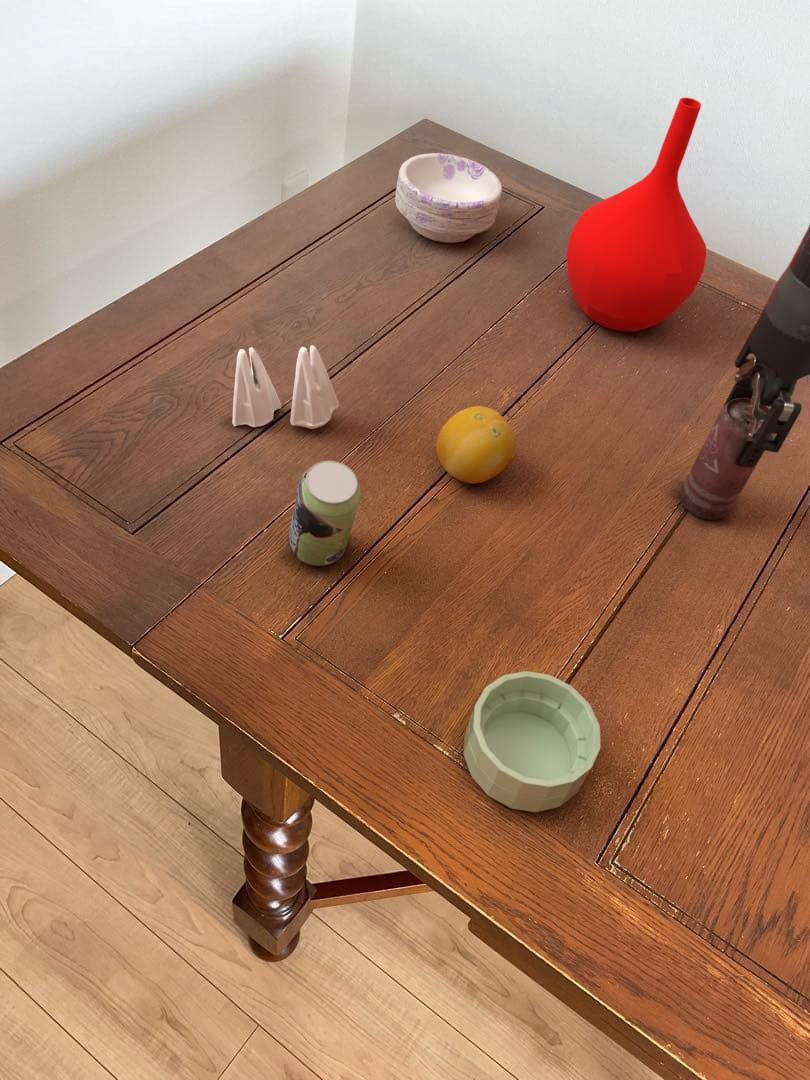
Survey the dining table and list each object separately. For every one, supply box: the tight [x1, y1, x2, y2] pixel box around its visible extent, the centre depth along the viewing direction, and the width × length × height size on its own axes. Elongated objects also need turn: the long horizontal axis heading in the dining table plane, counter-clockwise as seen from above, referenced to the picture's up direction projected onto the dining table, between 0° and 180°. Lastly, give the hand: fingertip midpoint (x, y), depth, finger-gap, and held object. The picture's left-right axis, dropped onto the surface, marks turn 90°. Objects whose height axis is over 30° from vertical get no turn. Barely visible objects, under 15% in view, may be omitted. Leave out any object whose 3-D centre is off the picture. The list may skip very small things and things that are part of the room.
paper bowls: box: [394, 152, 503, 244], centre depth 142 cm, size 15×15×8 cm
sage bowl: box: [463, 670, 601, 813], centre depth 86 cm, size 11×11×6 cm
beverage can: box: [287, 460, 362, 567], centre depth 96 cm, size 6×7×12 cm
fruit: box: [435, 405, 516, 484], centre depth 109 cm, size 9×8×8 cm
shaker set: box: [231, 344, 340, 430], centre depth 109 cm, size 12×4×11 cm, turn 89°
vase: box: [566, 97, 707, 333], centre depth 126 cm, size 18×18×30 cm
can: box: [679, 398, 768, 521], centre depth 108 cm, size 6×6×14 cm
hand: (737, 437), depth 106 cm, fingers open, 8 cm apart
